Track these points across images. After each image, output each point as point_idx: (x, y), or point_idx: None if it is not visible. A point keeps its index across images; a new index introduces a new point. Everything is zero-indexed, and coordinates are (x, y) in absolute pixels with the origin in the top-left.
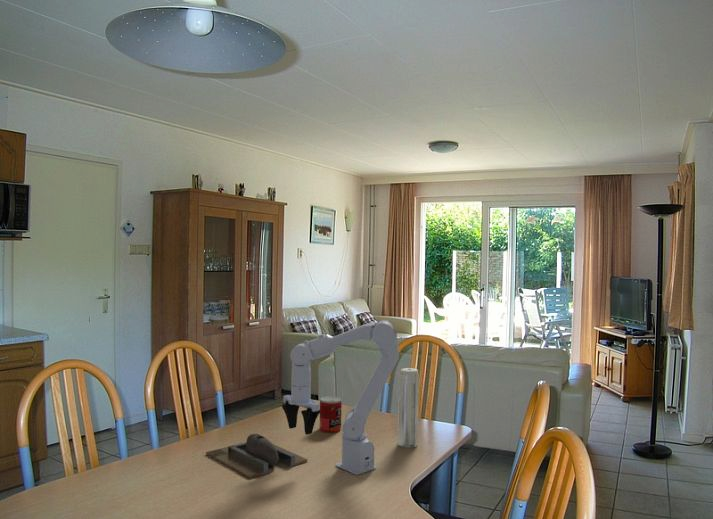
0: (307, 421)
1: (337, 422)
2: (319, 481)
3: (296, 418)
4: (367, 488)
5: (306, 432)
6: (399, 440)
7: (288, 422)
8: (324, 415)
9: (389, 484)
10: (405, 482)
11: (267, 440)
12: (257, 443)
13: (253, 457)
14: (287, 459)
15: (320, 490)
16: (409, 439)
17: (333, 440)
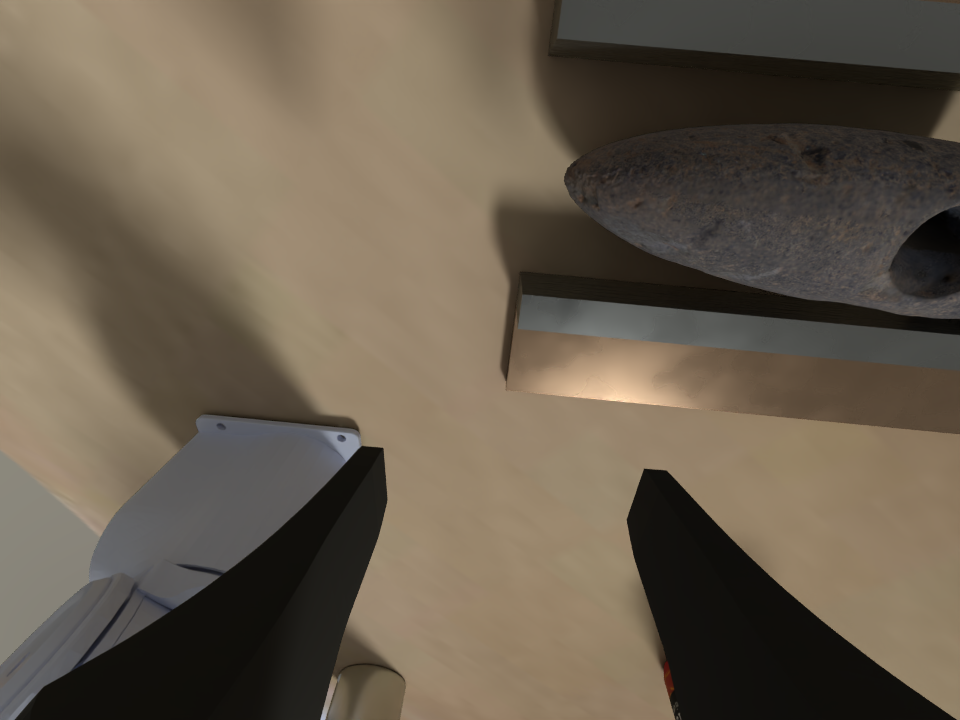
0: (228, 575)
1: (677, 710)
2: (221, 233)
3: (658, 619)
4: (32, 340)
5: (351, 459)
6: (374, 689)
7: (696, 515)
8: None
9: (49, 429)
10: (49, 477)
11: (815, 254)
12: (898, 151)
13: (785, 20)
14: (563, 287)
15: (86, 135)
16: (333, 704)
17: (611, 605)
